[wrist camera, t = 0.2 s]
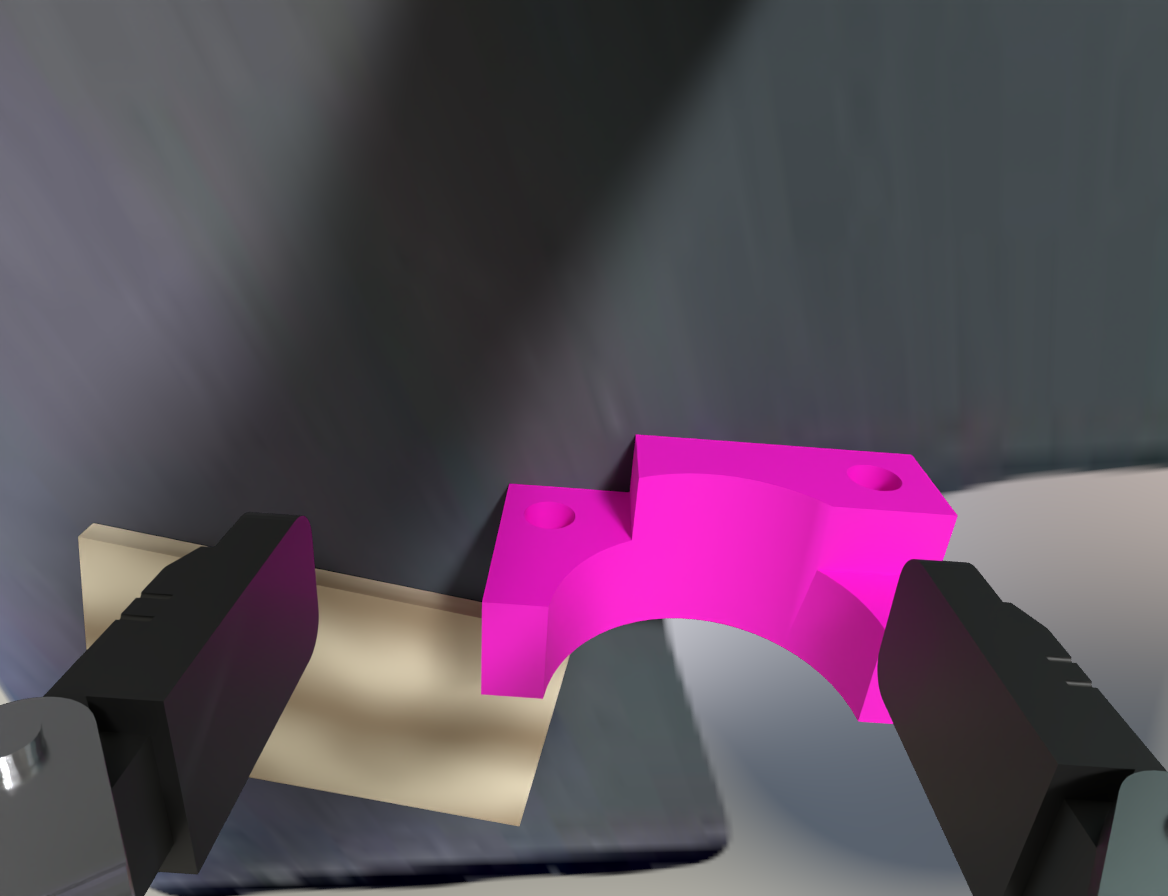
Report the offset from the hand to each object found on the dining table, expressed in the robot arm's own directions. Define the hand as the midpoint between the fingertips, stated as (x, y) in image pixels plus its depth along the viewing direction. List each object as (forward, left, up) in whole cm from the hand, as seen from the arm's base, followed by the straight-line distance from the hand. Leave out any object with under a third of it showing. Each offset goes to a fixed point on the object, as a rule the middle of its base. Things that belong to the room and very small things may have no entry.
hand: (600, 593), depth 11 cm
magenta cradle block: (+8, +6, -18) cm, 21 cm away
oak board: (+21, -8, -18) cm, 28 cm away
